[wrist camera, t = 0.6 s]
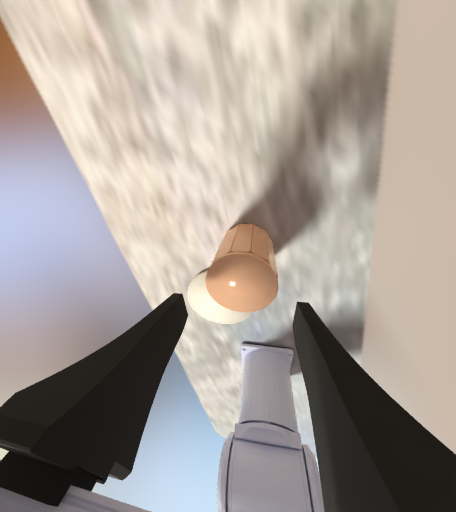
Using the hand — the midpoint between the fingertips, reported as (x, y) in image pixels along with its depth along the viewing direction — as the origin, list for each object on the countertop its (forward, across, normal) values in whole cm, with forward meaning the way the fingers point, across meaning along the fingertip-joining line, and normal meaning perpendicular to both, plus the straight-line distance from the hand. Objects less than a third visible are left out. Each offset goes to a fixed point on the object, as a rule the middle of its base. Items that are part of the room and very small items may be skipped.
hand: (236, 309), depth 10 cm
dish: (+9, +4, +8) cm, 12 cm away
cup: (+9, 0, 0) cm, 9 cm away
